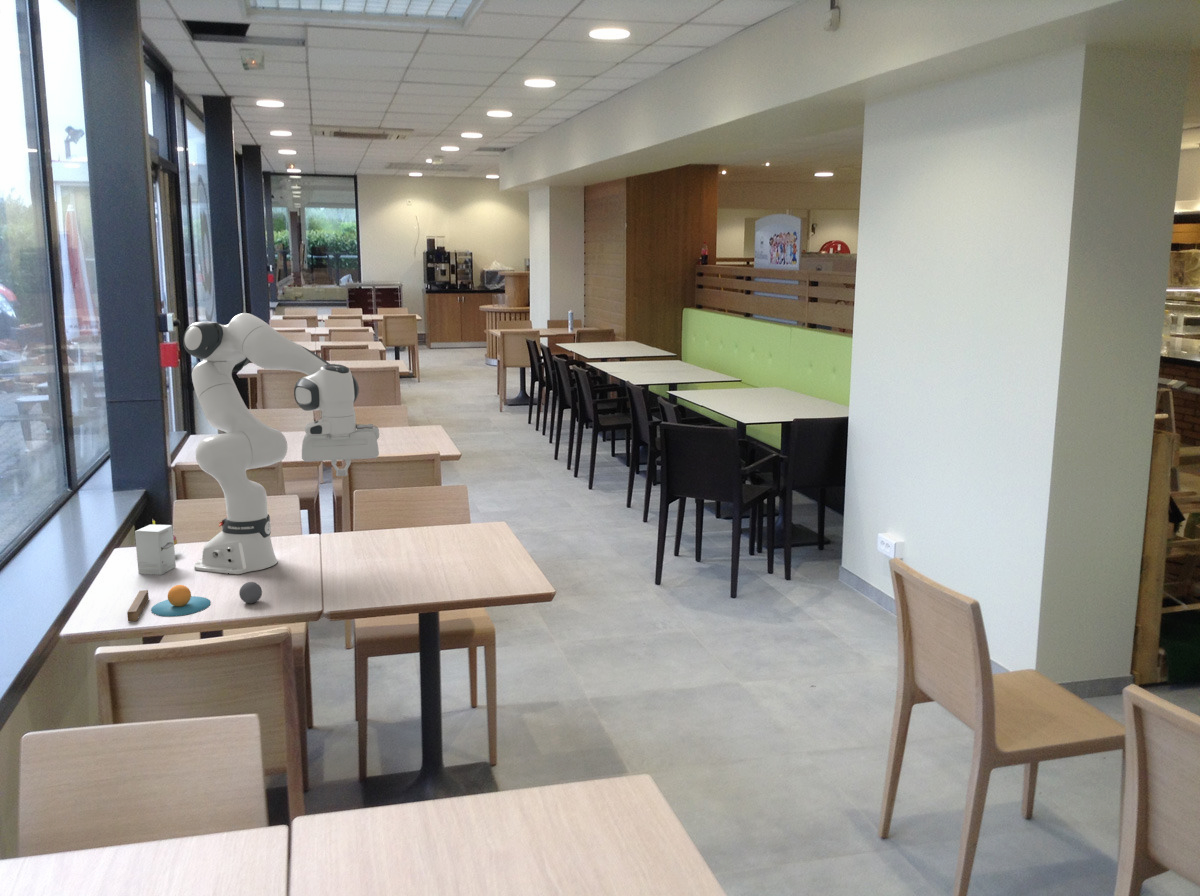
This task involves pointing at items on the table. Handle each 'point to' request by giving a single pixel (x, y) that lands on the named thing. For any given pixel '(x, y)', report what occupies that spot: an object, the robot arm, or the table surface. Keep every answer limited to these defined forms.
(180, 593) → the orange ball
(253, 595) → the gray ball
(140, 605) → the wall
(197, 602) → the teal mark
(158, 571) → the supplement box
